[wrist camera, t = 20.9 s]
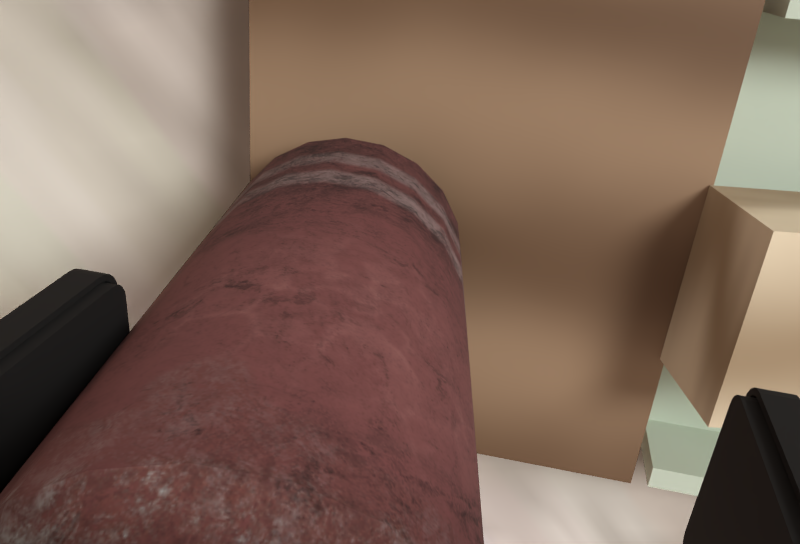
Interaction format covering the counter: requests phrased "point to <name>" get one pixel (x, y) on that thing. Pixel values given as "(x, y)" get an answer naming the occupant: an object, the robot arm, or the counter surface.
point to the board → (532, 179)
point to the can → (282, 379)
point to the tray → (748, 168)
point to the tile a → (738, 301)
